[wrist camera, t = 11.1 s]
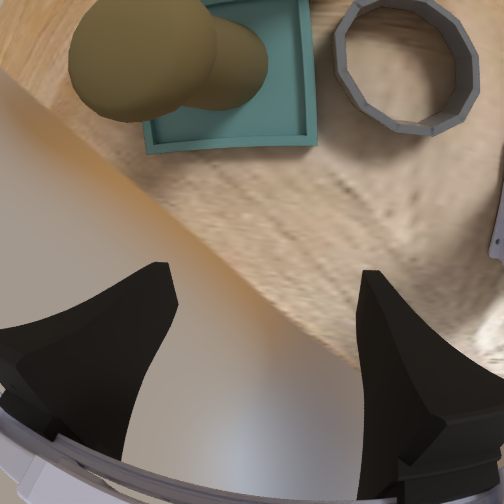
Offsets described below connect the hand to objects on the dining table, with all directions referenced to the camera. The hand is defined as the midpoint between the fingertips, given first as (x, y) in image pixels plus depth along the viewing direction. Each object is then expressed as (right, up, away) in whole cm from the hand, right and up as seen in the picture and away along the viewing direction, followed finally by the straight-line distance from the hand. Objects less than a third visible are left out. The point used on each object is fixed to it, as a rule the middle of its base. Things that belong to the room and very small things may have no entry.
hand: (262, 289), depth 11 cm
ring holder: (+9, +13, +3) cm, 16 cm away
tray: (-2, +13, +5) cm, 14 cm away
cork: (-2, +13, +5) cm, 14 cm away
